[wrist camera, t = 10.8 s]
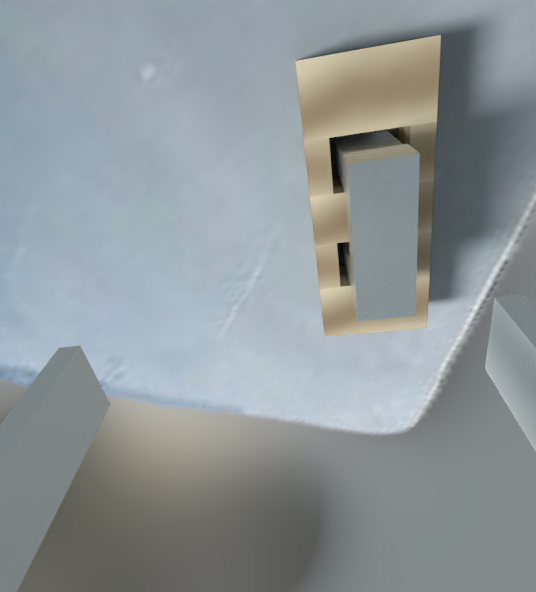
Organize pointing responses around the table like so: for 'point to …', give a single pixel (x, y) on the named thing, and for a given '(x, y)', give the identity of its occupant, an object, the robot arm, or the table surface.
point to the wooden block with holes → (359, 119)
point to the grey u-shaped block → (380, 223)
